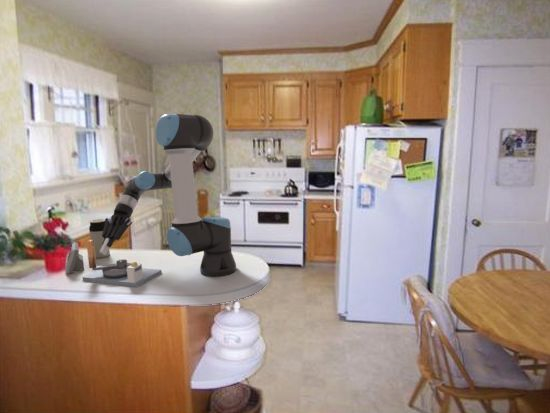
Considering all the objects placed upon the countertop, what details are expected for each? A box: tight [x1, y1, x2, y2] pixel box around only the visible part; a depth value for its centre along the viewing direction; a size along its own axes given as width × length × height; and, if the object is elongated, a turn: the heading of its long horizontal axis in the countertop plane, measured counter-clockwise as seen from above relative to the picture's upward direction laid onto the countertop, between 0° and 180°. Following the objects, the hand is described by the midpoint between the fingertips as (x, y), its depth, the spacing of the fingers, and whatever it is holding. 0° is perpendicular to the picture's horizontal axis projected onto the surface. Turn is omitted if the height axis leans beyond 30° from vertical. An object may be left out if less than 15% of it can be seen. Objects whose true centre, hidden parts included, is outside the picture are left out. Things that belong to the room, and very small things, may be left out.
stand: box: [82, 261, 163, 288], centre depth 155 cm, size 26×16×9 cm, turn 72°
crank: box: [86, 239, 132, 278], centre depth 154 cm, size 17×12×14 cm
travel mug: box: [88, 218, 111, 259], centre depth 185 cm, size 8×8×18 cm
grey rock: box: [65, 241, 85, 275], centre depth 167 cm, size 16×9×11 cm, turn 17°
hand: (102, 253), depth 159 cm, fingers closed
